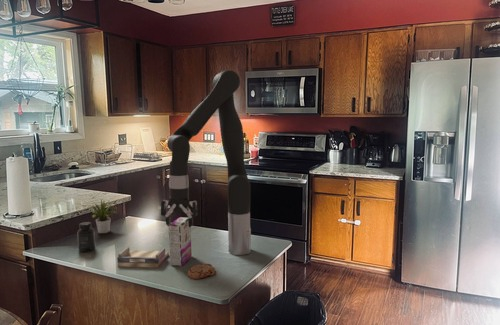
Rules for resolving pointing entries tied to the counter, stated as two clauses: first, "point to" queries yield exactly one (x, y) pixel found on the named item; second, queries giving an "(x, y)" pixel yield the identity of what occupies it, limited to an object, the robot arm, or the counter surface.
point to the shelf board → (141, 258)
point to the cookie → (201, 271)
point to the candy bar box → (180, 241)
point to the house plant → (103, 217)
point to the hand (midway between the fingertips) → (179, 226)
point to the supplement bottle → (86, 237)
